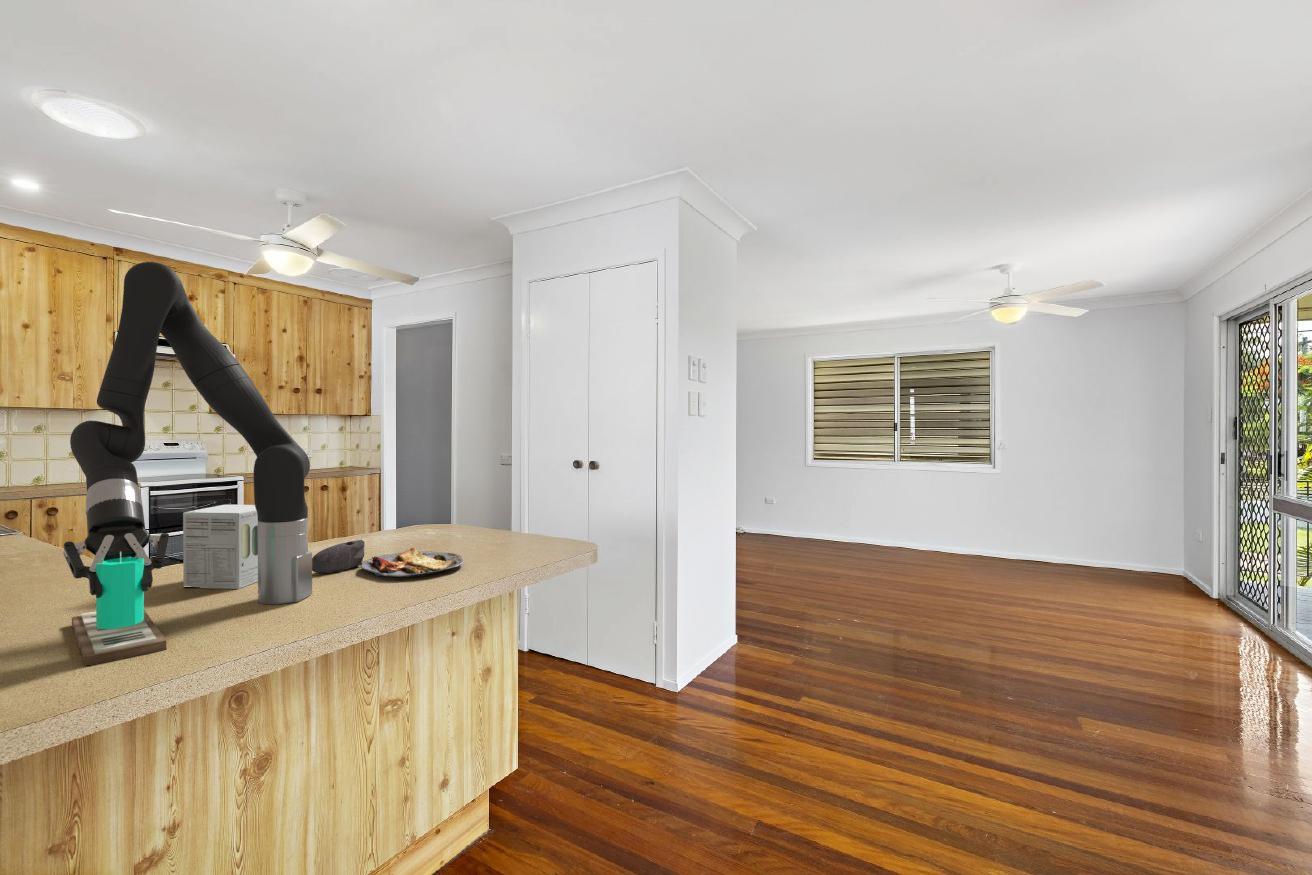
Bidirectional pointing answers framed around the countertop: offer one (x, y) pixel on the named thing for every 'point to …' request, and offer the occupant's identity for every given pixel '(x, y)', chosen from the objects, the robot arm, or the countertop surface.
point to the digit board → (115, 639)
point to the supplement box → (220, 547)
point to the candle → (120, 593)
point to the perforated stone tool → (339, 557)
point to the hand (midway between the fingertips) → (122, 591)
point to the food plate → (411, 563)
